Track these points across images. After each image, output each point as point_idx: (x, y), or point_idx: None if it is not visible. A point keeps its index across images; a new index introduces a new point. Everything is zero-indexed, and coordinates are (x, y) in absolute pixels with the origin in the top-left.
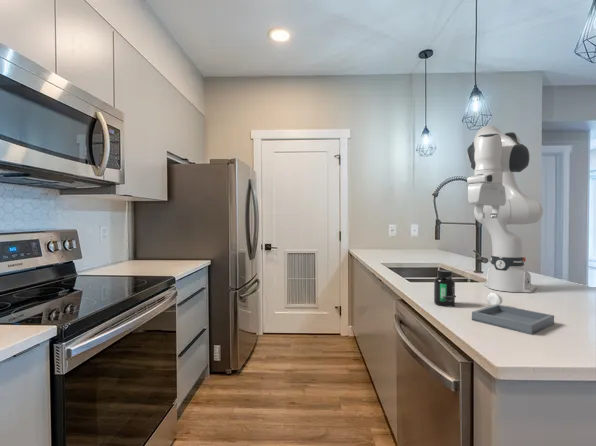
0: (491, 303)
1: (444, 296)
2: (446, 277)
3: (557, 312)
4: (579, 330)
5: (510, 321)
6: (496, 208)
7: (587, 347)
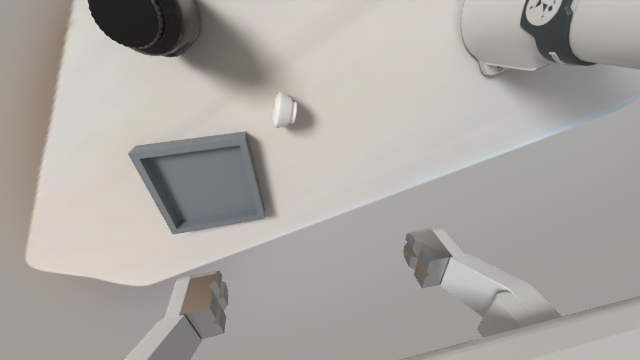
0: (274, 104)
1: None
2: None
3: (343, 179)
4: (264, 233)
5: (161, 211)
6: (482, 320)
7: (201, 263)
